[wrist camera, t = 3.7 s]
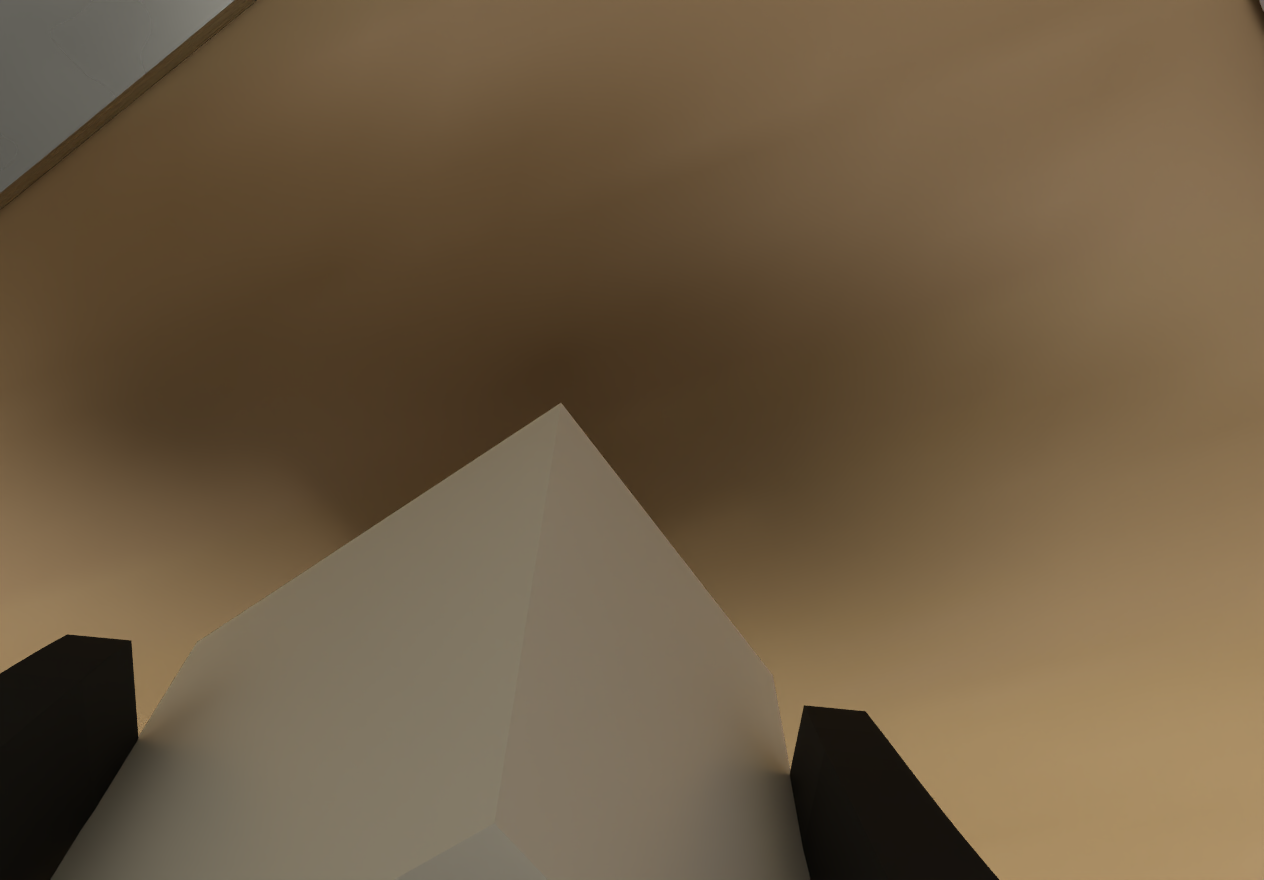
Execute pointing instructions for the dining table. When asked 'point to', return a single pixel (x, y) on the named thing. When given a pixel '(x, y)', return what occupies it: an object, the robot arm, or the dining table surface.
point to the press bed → (85, 70)
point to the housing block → (468, 706)
